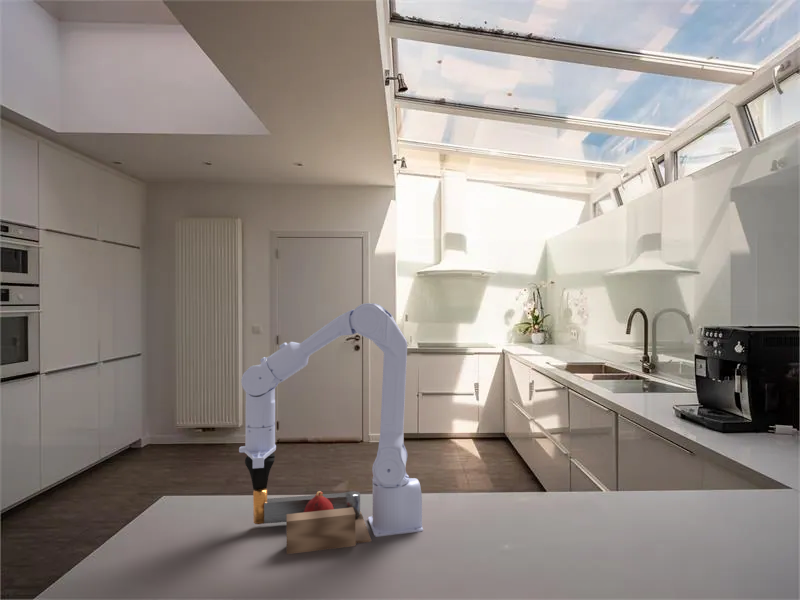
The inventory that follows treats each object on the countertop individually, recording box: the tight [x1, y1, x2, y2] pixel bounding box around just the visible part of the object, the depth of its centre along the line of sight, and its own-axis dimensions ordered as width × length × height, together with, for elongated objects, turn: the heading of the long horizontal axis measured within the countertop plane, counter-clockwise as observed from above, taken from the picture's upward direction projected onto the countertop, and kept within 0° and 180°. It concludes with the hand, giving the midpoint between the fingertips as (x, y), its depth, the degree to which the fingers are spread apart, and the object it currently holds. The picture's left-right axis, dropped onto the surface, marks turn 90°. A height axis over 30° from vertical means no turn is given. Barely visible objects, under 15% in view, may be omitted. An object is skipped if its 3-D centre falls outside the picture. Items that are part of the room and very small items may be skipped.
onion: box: [304, 490, 334, 512], centre depth 91 cm, size 6×6×8 cm
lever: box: [252, 488, 361, 525], centre depth 95 cm, size 21×3×6 cm, turn 100°
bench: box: [286, 507, 372, 555], centre depth 91 cm, size 15×13×6 cm
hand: (259, 492), depth 95 cm, fingers closed
